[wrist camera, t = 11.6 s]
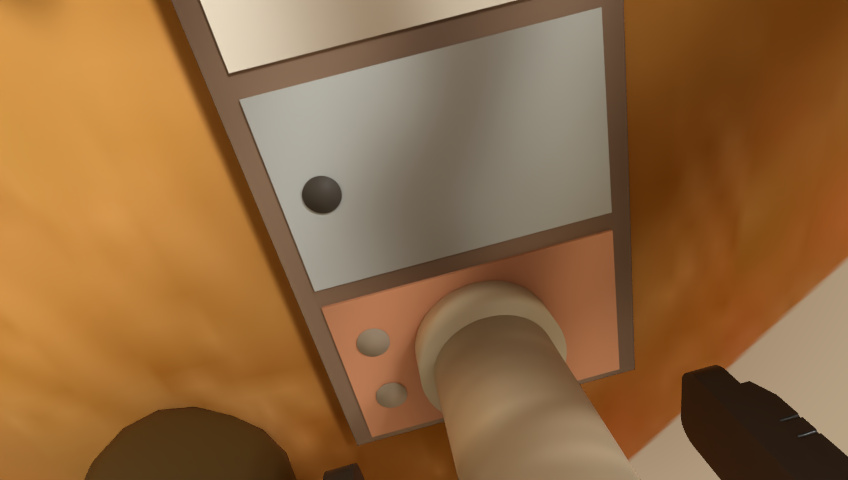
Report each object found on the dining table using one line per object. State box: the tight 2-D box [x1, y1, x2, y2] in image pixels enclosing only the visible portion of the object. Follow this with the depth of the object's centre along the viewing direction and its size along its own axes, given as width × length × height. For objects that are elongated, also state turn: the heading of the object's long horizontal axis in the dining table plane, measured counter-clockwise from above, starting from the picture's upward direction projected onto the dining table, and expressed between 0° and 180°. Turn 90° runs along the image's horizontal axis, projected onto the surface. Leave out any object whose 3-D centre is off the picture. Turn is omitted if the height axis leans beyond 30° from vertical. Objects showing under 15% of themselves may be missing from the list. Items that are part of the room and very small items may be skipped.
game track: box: [171, 0, 635, 446], centre depth 12 cm, size 10×18×1 cm, turn 13°
